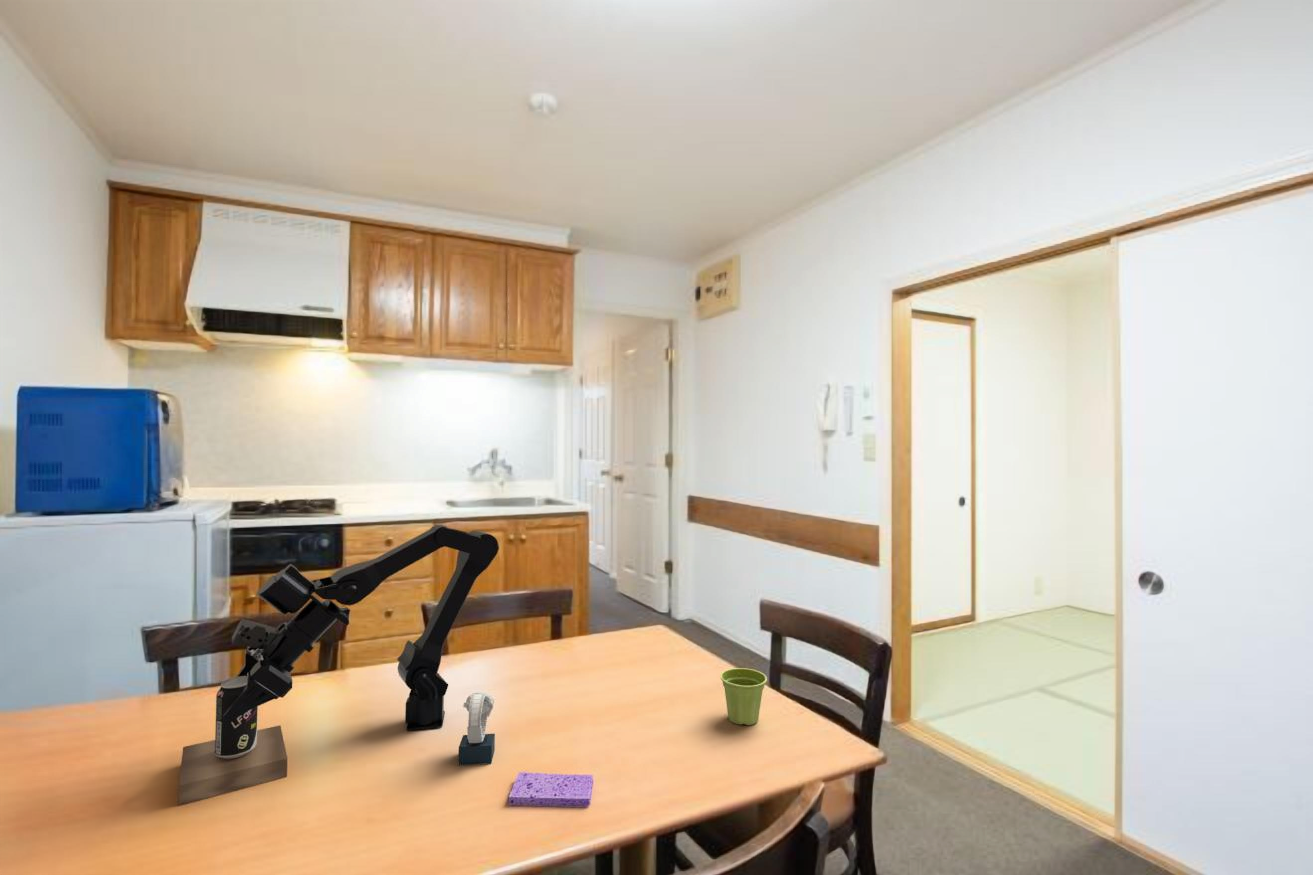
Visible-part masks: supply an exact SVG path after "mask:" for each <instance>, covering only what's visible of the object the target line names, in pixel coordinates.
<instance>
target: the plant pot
mask: <svg viewBox="0 0 1313 875" xmlns="http://www.w3.org/2000/svg"><path fill="white" fill-rule="evenodd" d="M719 677H720V680H721V681H722V685H723V687H724V696H725V701H726V702H725V703H726V711H727V718H728V720H729V721H730V722H731V723H732V724H733V723H734V725H738V724H739V726H741V725H747V726H751V725H754V724H757V723H758V721H759V719H760V718H759V717H760V712H761V711H760V710H761V704H762V699H763V697H762V696H763V690H764V689H765V684H766V683H767V681H768V677H767V676H766V674H765V673H763V672H761V671H758V670H756V669H751V668H743V667H741V668H740V667H739V668H736V667H735V668H729V669H726V670H723V671H722V672H721V673H720V676H719Z"/></svg>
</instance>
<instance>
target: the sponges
mask: <svg viewBox="0 0 1313 875" xmlns="http://www.w3.org/2000/svg"><path fill="white" fill-rule="evenodd" d="M593 786H594V774H576V773H575V774H574V773H573V774H571V773H570V774H568V773H566V774H563V773H547V772H546V773H545V772H544V773H543V772H529V771H527V772H526V771H525V772H524V771H519V772H518V773H517V776H516V777H515V782H514V783H513V785H512V789H511V790H510V793H509V795H508V803H509V804H508V805H509V806H527V807H528V806H535V807H546V806H547V807H573V808H574V807H576V808H587V807H588V806H590V805H591V799H592V793H593V792H592V791H593Z"/></svg>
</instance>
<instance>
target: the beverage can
mask: <svg viewBox="0 0 1313 875" xmlns="http://www.w3.org/2000/svg"><path fill="white" fill-rule="evenodd" d="M246 686H247V676H239V677H236V676H233V677H231V678H228V679H226V680H224V681H222V682H221V685H220V688H219V689H218V691H217V692H216V697H215V699H216V700H215V733H214V735H215V737H214V738H215V739H214V740H215V754H216V756H218V757H221V758H224V759H233V758H237V757H241V756H243V755H245V754H247V753H249V752H250V751H251V750H252V749H253V748H255V746H256V744H257V730H258V716H259V713H258V711H259V710H258V709H259V706H257V707H255V708H253V709H251V710H249V711H247V712H245V713H243V714H241V715H239V716H237V717H235V718H233V719H231V720H227V719H225V718H224V714H225V713H226V712H227V710H228V709H229V708H230V706H231V705H232V704H233V702H234V701H235V700H236V699H237V697H238V696H239V695H240V693H241V692H242V691H243V690H244V688H245V687H246Z"/></svg>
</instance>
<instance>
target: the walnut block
mask: <svg viewBox="0 0 1313 875" xmlns="http://www.w3.org/2000/svg"><path fill="white" fill-rule="evenodd" d="M283 736H284V735H283V732H282V726H281V724H280V725H274V726H271V727H266V728H262V729H257V744H256V746H255V748H253V749H252V750H251V751H250V752H249V753H247V754H245V755H243V756H241V757H237V758H233V759H224V758H221V757H218V756H216V754H215V739H212V740H208V741H204V742H200V743H195V744H191V745H187V746H186V745H185V746H182V753H181V762H180V763H181V764H180V769H179V770H180V772H179V779H178V780H179V781H178V786H177V787H178V788H177V789H178V791H177V793H178V795H177V796H178V797H177V805H178V806H177V807H180V806H183V805H187V804H190V803H194V802H198V801H202V800H204V799H205V800H206V799H209V798H212V797H216V796H220V795H223V794H228V793H232V792H235V791H239V790H243V789H247V788H249V787H254V786H258V785H261V784H265V783H268V782H274V781H276V780H279V779H284V778H287V777H288V754H287V751H286V750H287V749H286V745H285V740H284V737H283Z"/></svg>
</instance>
